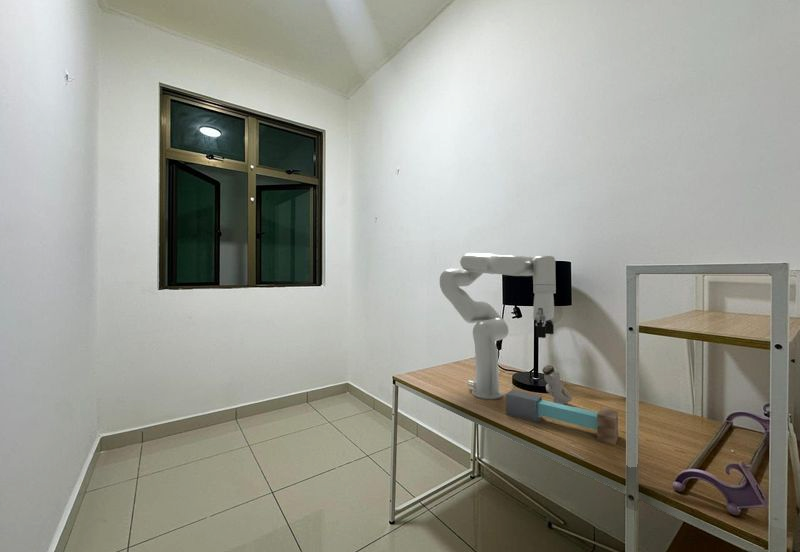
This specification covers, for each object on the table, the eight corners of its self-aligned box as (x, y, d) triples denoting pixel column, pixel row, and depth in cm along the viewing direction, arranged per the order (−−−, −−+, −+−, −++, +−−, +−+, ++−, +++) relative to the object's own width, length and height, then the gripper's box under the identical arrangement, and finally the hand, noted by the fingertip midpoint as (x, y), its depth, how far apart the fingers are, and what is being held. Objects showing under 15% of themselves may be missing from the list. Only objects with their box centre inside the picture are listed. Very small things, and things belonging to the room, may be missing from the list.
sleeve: (506, 414, 116) (505, 393, 116) (512, 409, 121) (512, 389, 121) (536, 423, 109) (536, 400, 109) (542, 417, 114) (541, 395, 114)
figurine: (544, 398, 132) (544, 361, 132) (572, 403, 127) (571, 365, 127) (541, 405, 124) (541, 366, 125) (571, 410, 119) (570, 370, 119)
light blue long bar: (529, 412, 112) (529, 401, 112) (533, 409, 115) (533, 397, 115) (611, 433, 96) (611, 420, 96) (613, 428, 99) (613, 415, 99)
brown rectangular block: (597, 440, 97) (597, 414, 97) (601, 431, 103) (600, 407, 103) (615, 445, 94) (614, 418, 95) (618, 436, 100) (617, 411, 100)
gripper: (541, 288, 127) (541, 331, 127) (526, 289, 114) (526, 337, 114) (561, 288, 122) (562, 333, 122) (548, 290, 109) (549, 340, 109)
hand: (545, 335), depth 118 cm, fingers open, 9 cm apart
